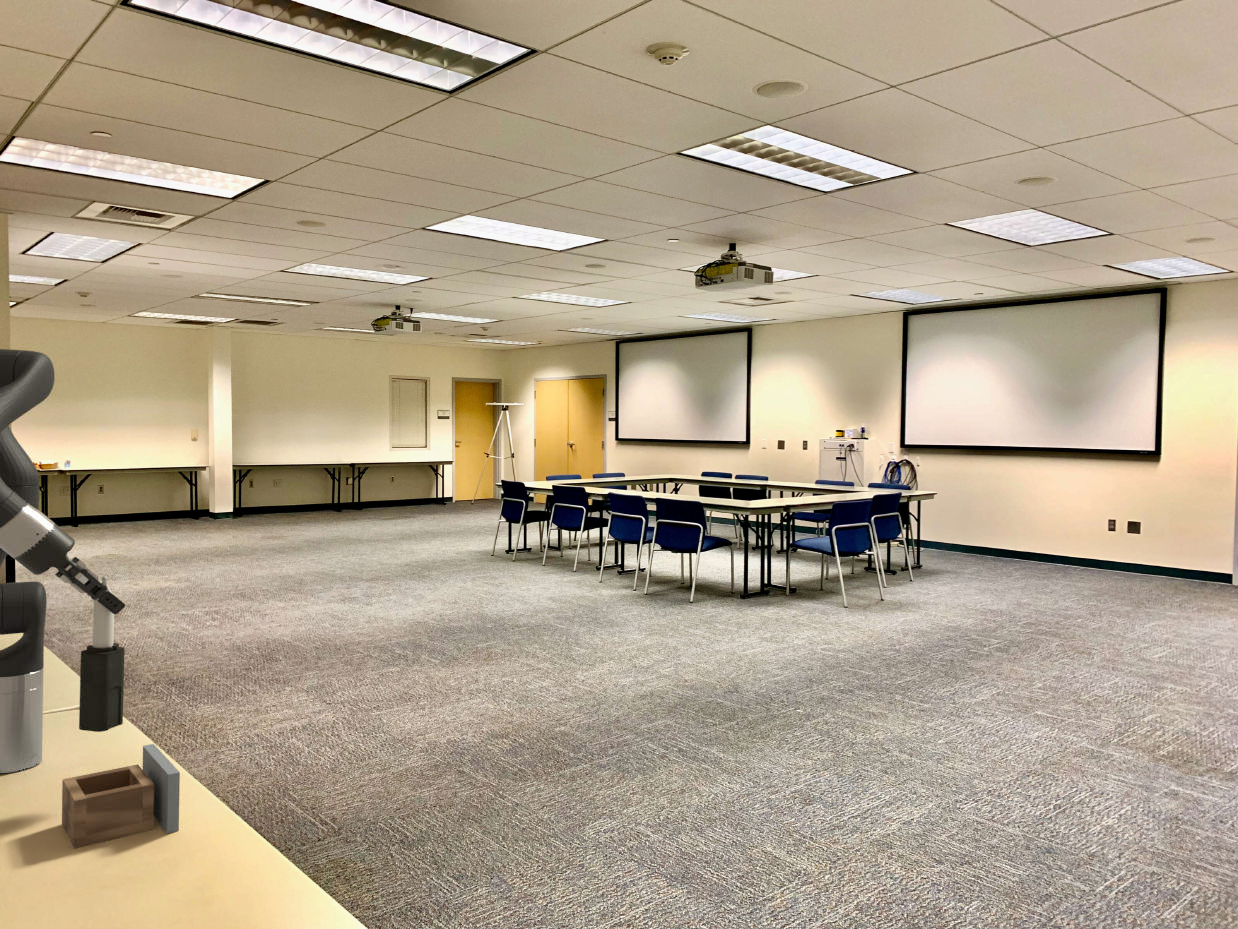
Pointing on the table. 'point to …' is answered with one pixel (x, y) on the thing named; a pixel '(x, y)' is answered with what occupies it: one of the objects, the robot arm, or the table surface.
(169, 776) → the backstop wall
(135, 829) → the socket block
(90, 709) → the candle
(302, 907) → the table surface
